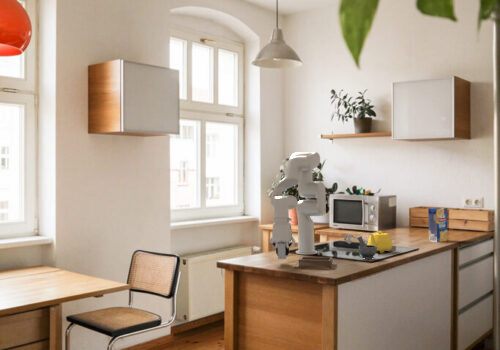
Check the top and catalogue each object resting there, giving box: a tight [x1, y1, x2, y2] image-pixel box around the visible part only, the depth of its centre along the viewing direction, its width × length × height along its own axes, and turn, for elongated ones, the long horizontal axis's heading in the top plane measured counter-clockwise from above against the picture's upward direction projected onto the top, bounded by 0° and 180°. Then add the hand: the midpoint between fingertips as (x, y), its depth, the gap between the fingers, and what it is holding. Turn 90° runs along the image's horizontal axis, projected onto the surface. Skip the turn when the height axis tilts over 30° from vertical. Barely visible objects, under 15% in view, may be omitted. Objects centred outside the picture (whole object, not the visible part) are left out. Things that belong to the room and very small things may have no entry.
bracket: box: [343, 233, 368, 245], centre depth 338 cm, size 3×21×10 cm, turn 50°
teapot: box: [366, 230, 393, 254], centre depth 306 cm, size 13×20×12 cm
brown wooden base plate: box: [294, 256, 337, 270], centre depth 263 cm, size 12×20×4 cm, turn 77°
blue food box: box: [427, 207, 448, 243], centre depth 348 cm, size 7×11×22 cm, turn 124°
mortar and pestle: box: [356, 236, 378, 259], centre depth 284 cm, size 11×9×12 cm
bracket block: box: [277, 241, 288, 260], centre depth 272 cm, size 6×4×9 cm, turn 167°
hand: (282, 254), depth 272 cm, fingers closed on bracket block, 4 cm apart
